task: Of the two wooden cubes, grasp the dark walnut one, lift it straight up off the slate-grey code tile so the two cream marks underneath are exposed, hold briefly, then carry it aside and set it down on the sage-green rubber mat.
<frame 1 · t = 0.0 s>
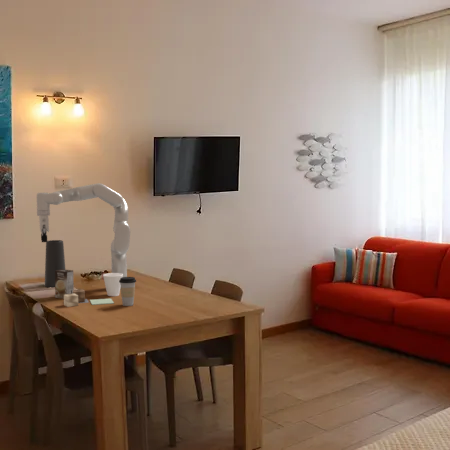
hand: (44, 241, 367), 31 cm above the table, fingers open, 9 cm apart
vase: (55, 285, 391), on the table
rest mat: (101, 302, 341), on the table
coffee cup: (128, 305, 335), on the table
code tile: (79, 301, 343), on the table
cup: (113, 295, 361), on the table
maple block: (71, 305, 333), on the table
coffee box: (64, 297, 354), on the table
walnut block: (78, 301, 343), resting on code tile
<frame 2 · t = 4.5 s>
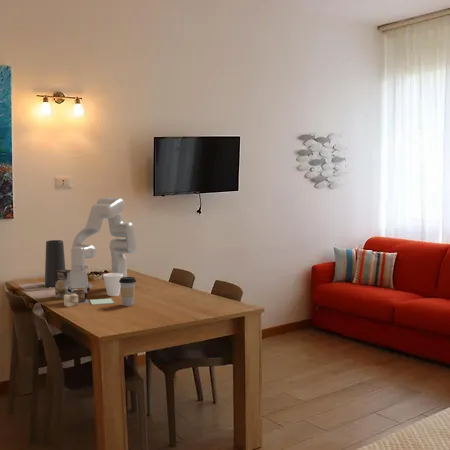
hand: (78, 299, 343), 1 cm above the table, fingers closed on walnut block, 6 cm apart
walnut block: (78, 301, 343), resting on code tile, touching gripper
everything else where it was.
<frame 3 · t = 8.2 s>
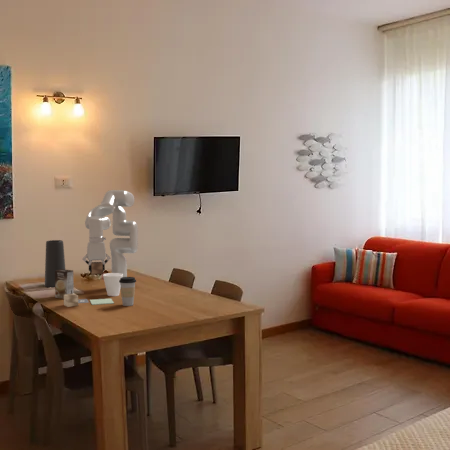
hand: (96, 271, 340), 17 cm above the table, fingers closed on walnut block, 6 cm apart
walnut block: (96, 273, 340), point 17 cm above the table, touching gripper
everything else where it was.
when the fingers open (3 cm above the table, at t = 11.8 s): walnut block drops 1 cm, resting on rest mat.
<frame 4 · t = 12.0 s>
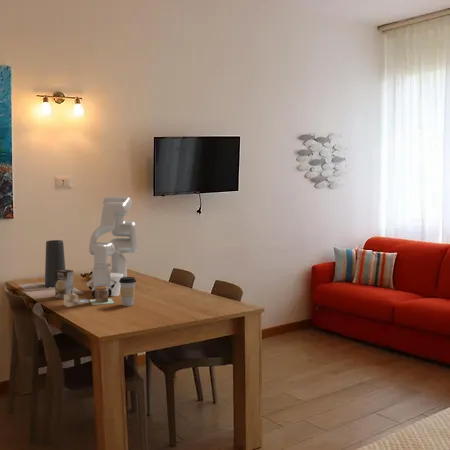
hand: (101, 296, 341), 3 cm above the table, fingers open, 8 cm apart
walnut block: (101, 301, 341), point 1 cm above the table, touching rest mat
everything else where it was.
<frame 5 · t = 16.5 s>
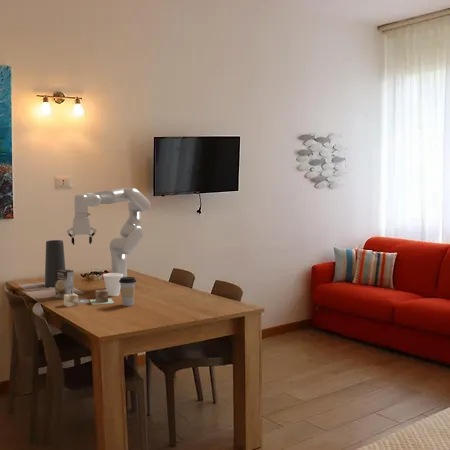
hand: (81, 244, 361), 30 cm above the table, fingers open, 9 cm apart
nothing on the table moved.
at the end: walnut block inside the target area on the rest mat (0.0 cm from its centre), point 0.6 cm above the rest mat's base; walnut block tilted 0°; the gripper is holding nothing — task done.
